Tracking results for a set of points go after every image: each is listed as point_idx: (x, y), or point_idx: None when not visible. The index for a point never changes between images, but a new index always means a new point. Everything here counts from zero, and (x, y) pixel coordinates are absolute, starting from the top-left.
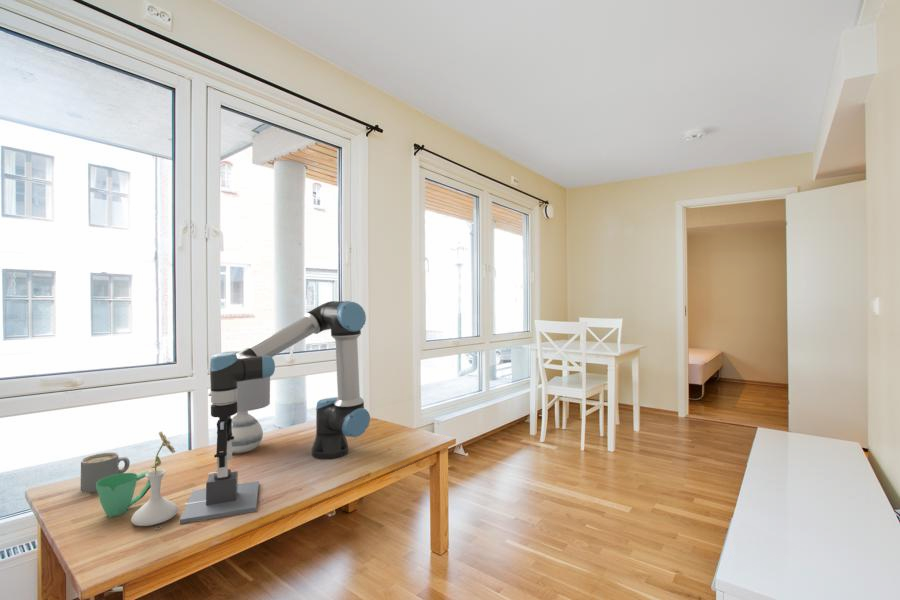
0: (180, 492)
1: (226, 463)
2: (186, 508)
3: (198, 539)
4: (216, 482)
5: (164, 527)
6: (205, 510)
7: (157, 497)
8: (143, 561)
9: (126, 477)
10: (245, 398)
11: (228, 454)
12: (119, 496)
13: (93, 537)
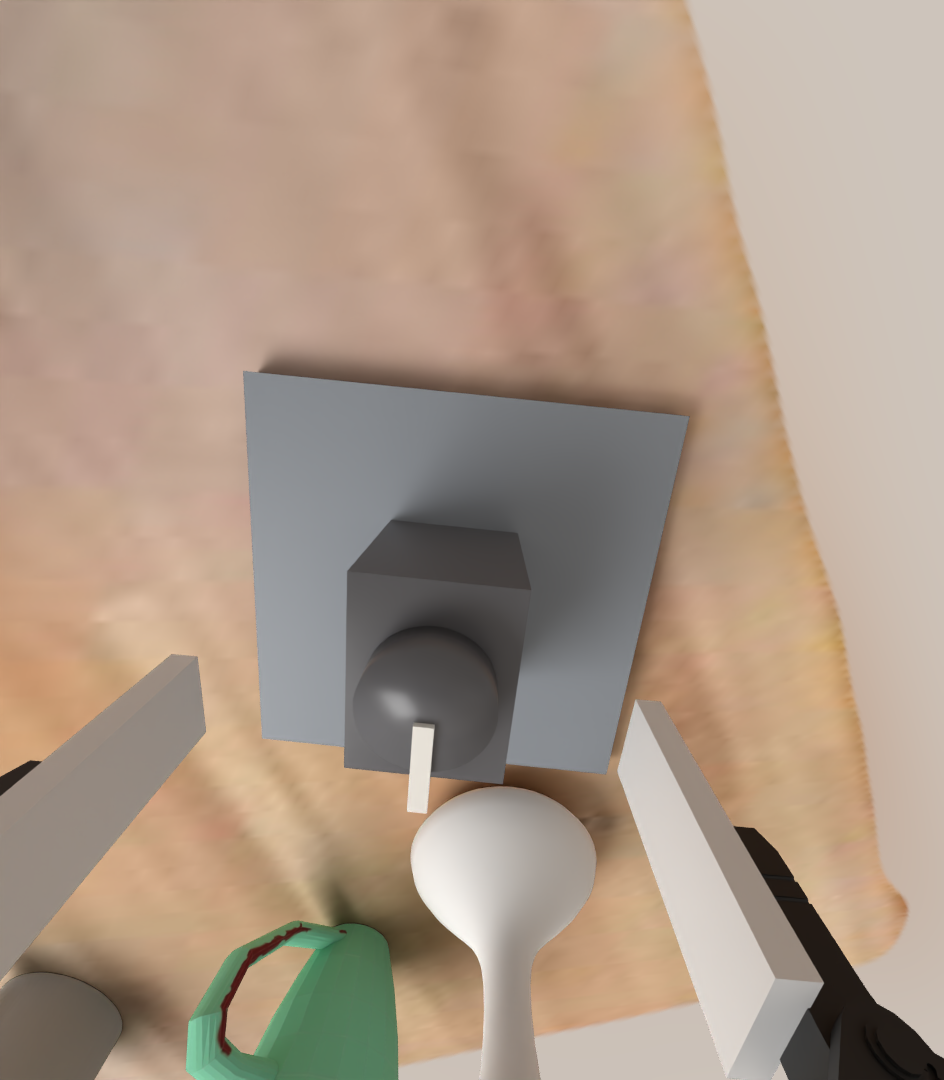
0: (227, 770)
1: (734, 838)
2: None
3: (815, 687)
4: (511, 717)
5: (599, 804)
6: (563, 678)
7: (528, 959)
8: (853, 843)
9: None
10: None
11: (150, 737)
12: (393, 1060)
13: (543, 976)
